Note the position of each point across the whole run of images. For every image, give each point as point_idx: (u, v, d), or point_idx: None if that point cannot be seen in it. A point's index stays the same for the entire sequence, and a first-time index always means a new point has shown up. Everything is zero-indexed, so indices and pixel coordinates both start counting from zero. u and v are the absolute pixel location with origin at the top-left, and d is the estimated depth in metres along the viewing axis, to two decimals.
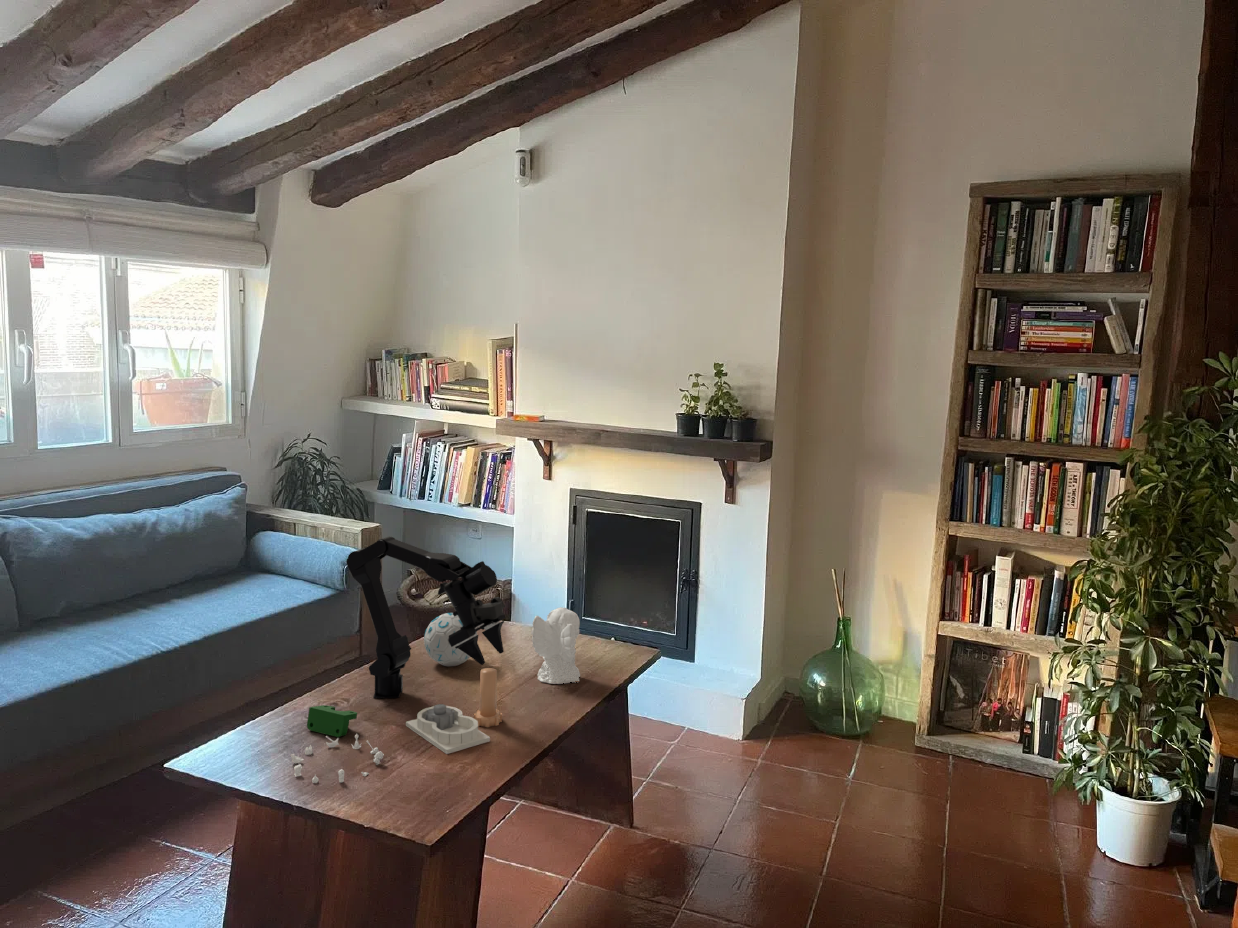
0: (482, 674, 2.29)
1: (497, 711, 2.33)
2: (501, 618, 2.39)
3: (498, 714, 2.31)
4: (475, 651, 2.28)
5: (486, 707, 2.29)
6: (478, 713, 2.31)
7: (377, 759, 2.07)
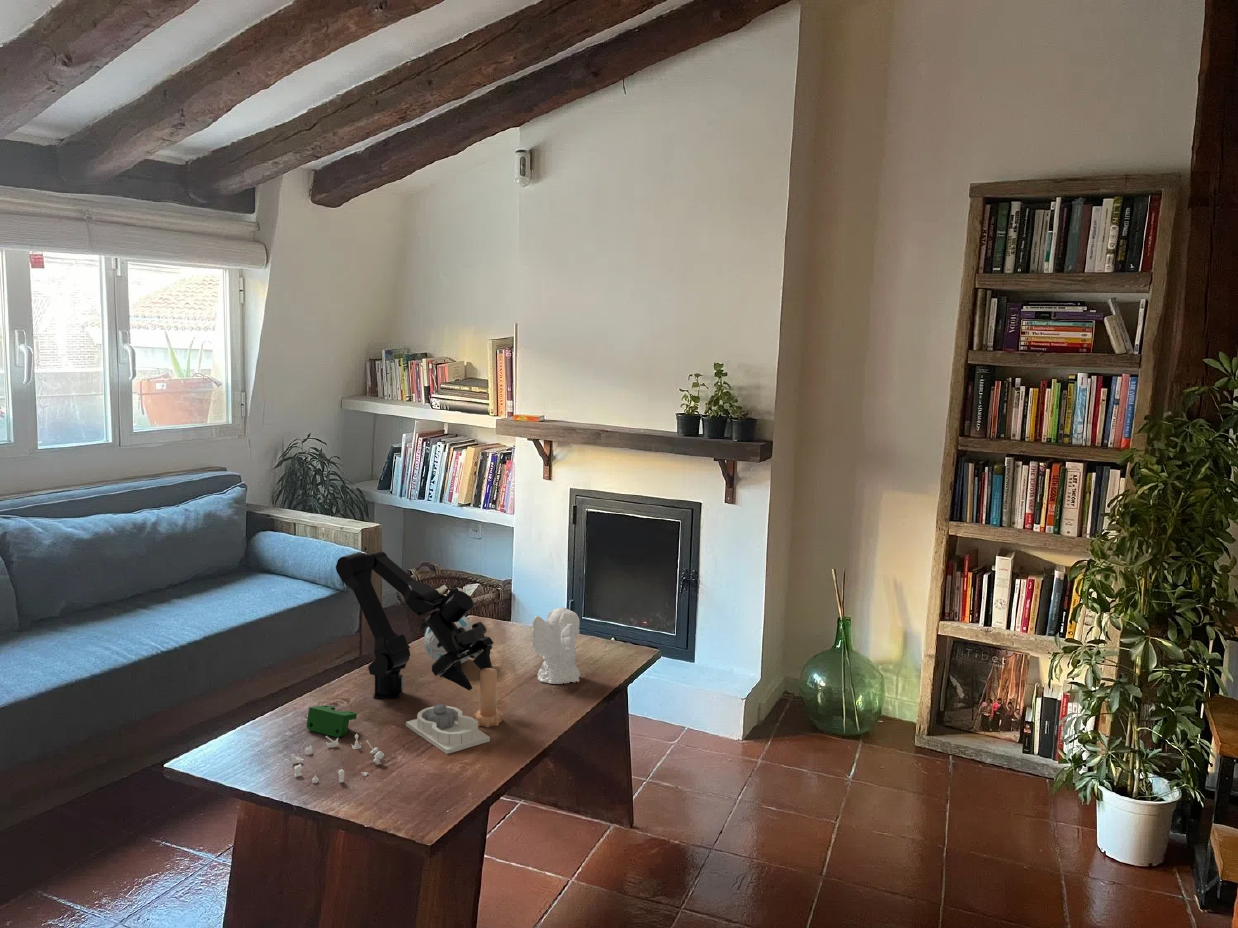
0: (482, 674, 2.29)
1: (497, 711, 2.33)
2: (488, 643, 2.38)
3: (498, 714, 2.31)
4: (460, 677, 2.27)
5: (486, 707, 2.29)
6: (478, 713, 2.31)
7: (377, 759, 2.07)
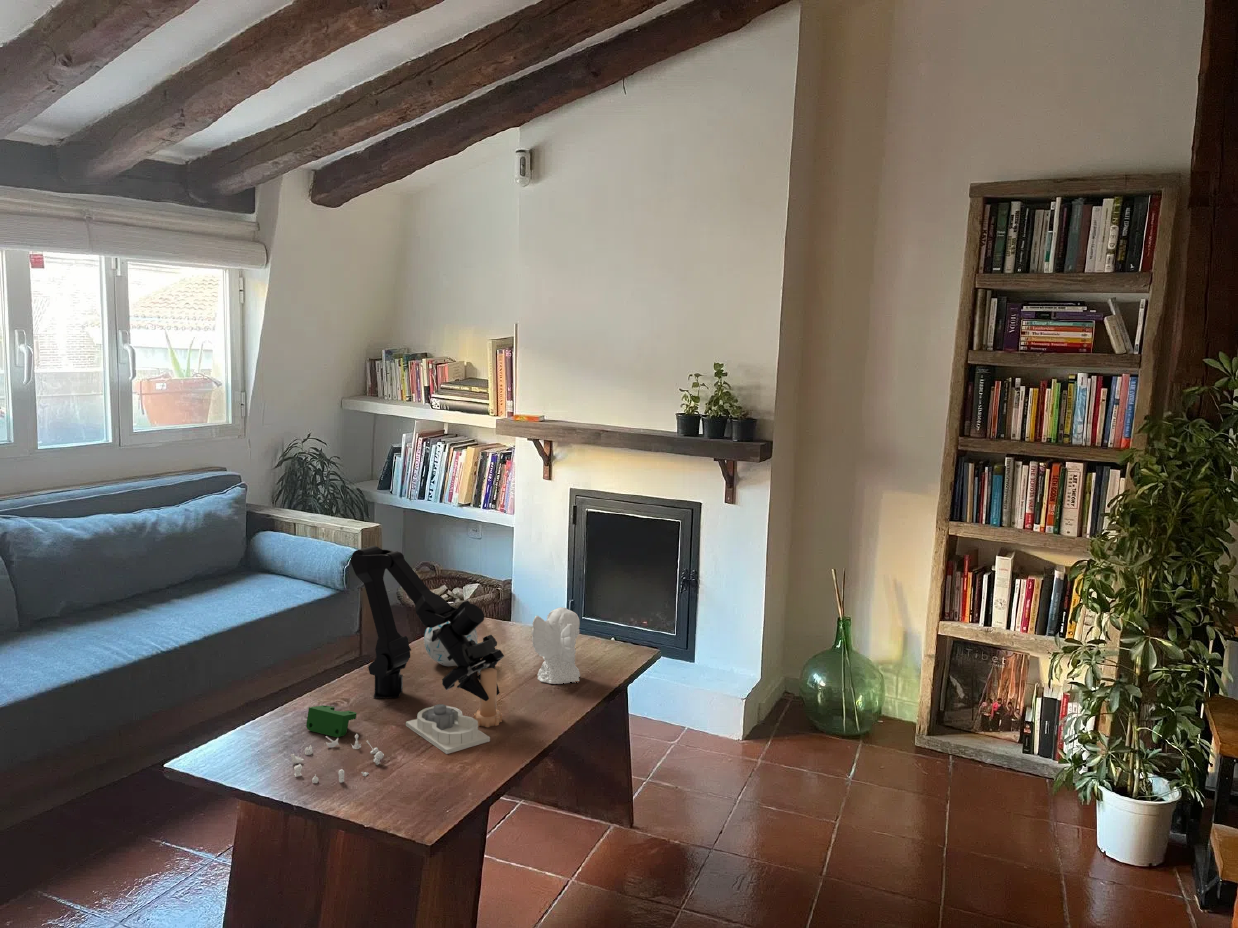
0: (482, 674, 2.29)
1: (497, 711, 2.33)
2: (499, 656, 2.37)
3: (498, 714, 2.31)
4: (477, 688, 2.28)
5: (486, 707, 2.29)
6: (478, 713, 2.31)
7: (377, 759, 2.07)
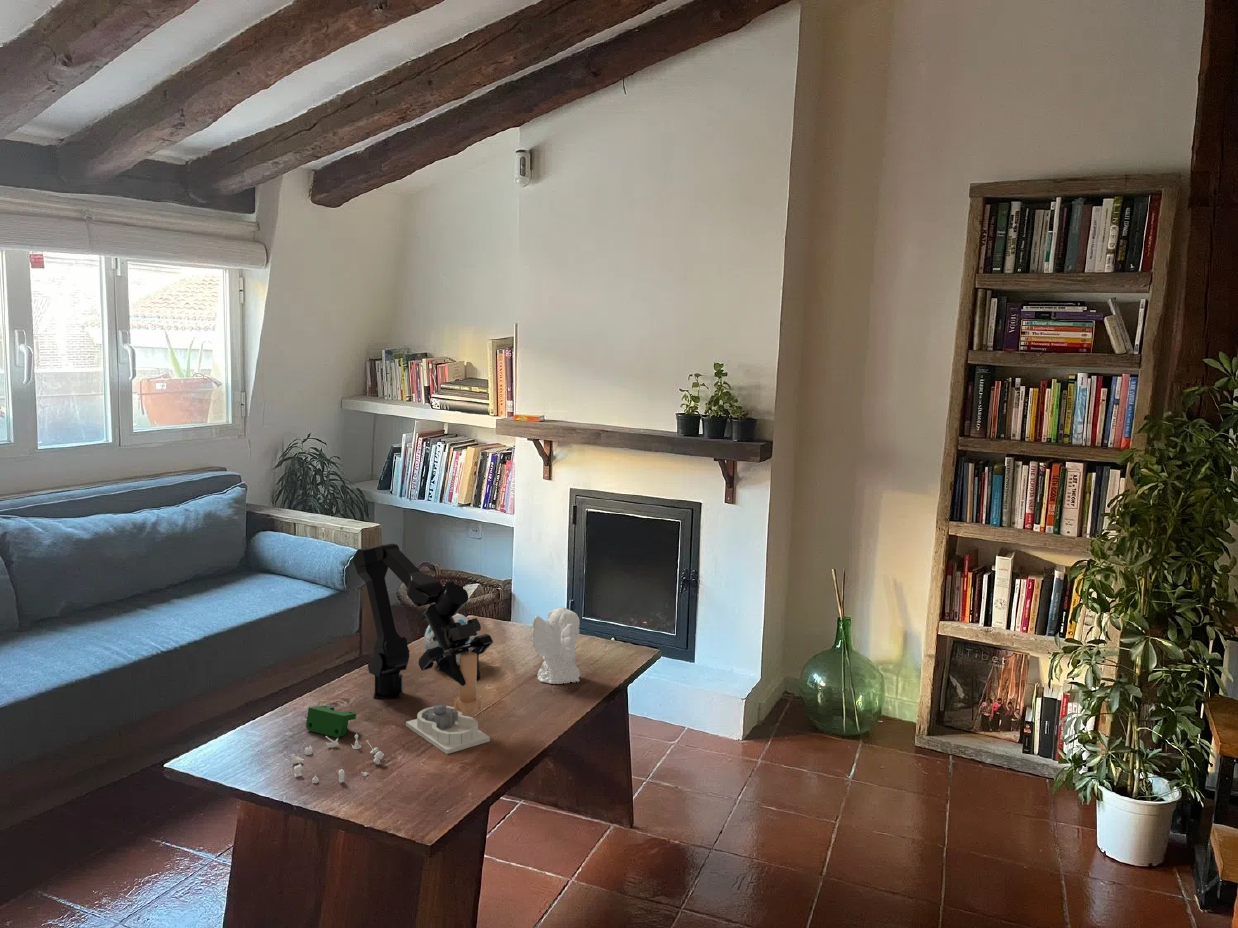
0: (460, 658, 2.21)
1: (478, 698, 2.24)
2: (486, 641, 2.28)
3: (477, 701, 2.23)
4: (454, 671, 2.20)
5: (464, 692, 2.21)
6: (458, 698, 2.24)
7: (377, 759, 2.07)
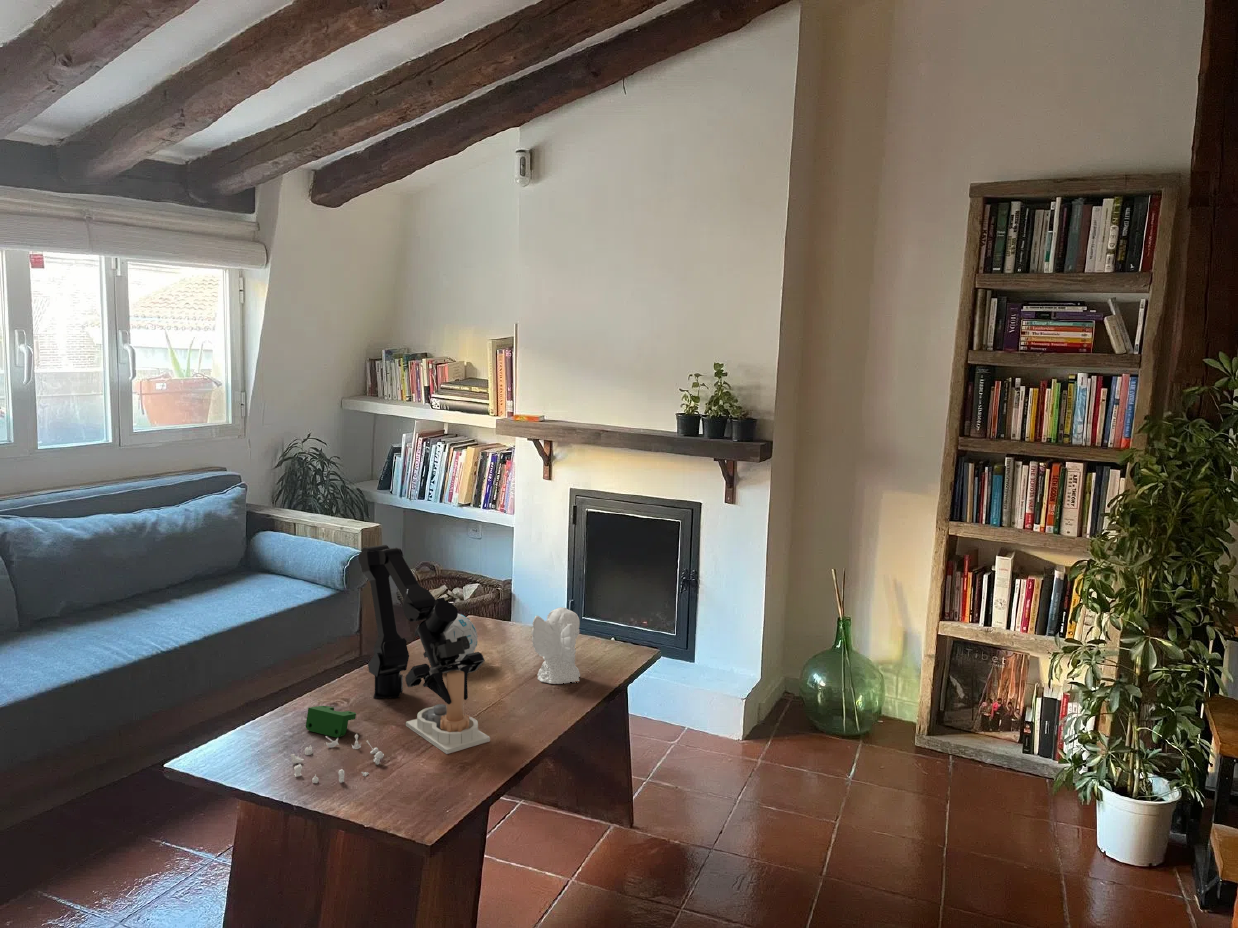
0: (447, 676, 2.19)
1: (466, 717, 2.22)
2: (476, 660, 2.25)
3: (464, 720, 2.20)
4: (440, 689, 2.18)
5: (450, 711, 2.19)
6: (446, 716, 2.22)
7: (377, 759, 2.07)
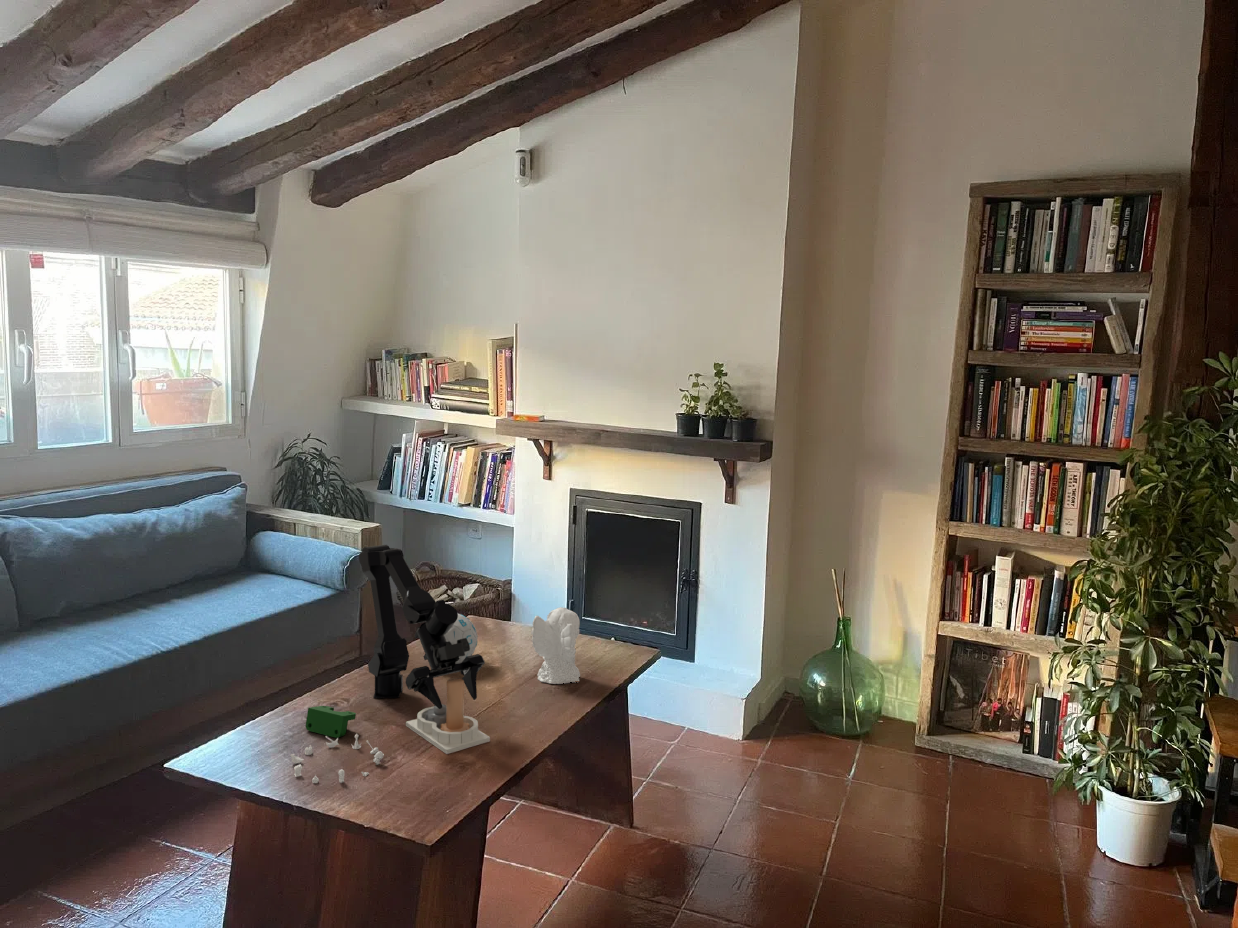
0: (447, 684, 2.19)
1: (466, 725, 2.22)
2: (476, 662, 2.25)
3: (464, 728, 2.20)
4: (431, 694, 2.17)
5: (449, 719, 2.19)
6: (446, 724, 2.22)
7: (377, 759, 2.07)
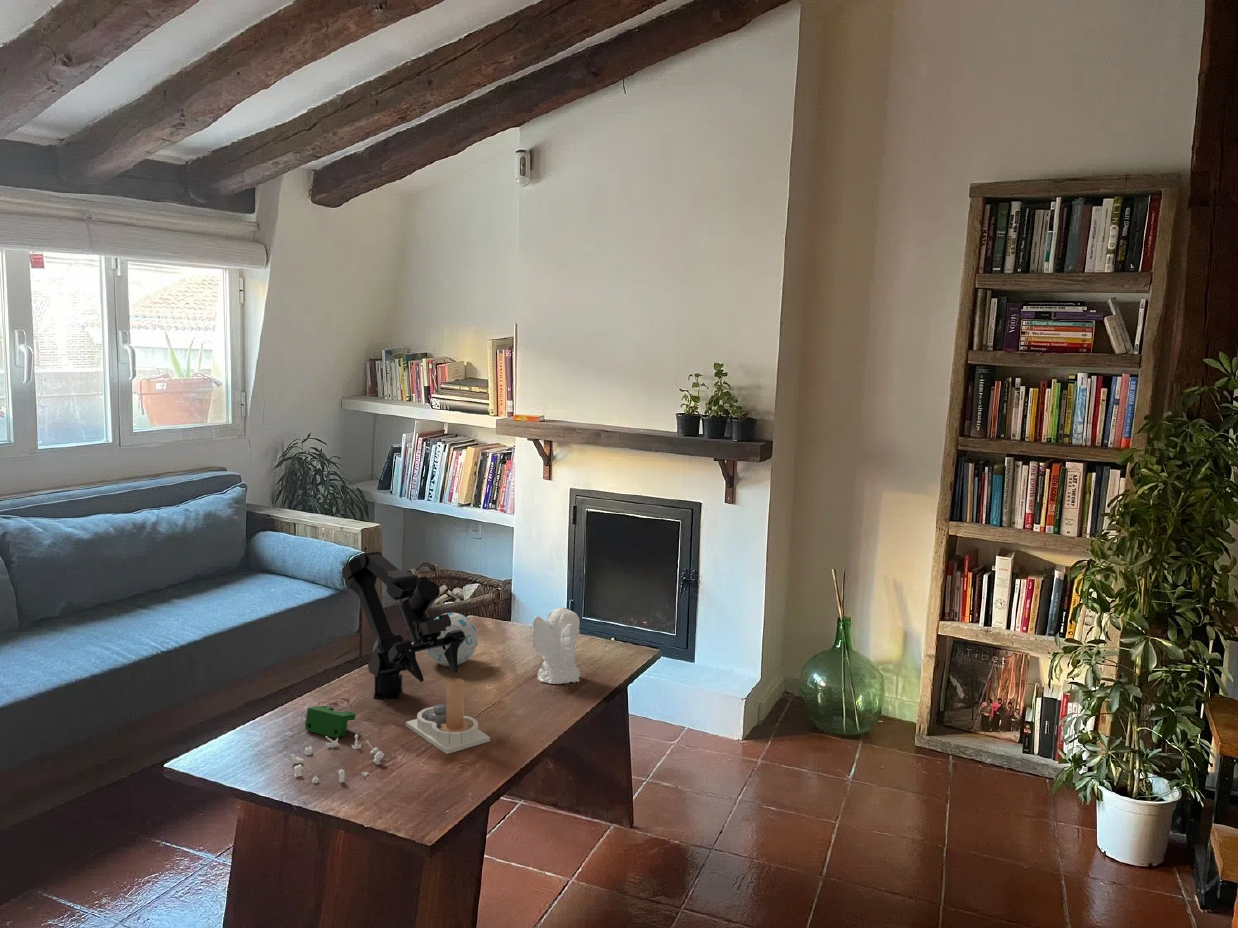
0: (447, 684, 2.19)
1: (466, 725, 2.22)
2: (457, 637, 2.31)
3: (464, 728, 2.20)
4: (413, 667, 2.23)
5: (449, 719, 2.19)
6: (446, 724, 2.22)
7: (377, 759, 2.07)
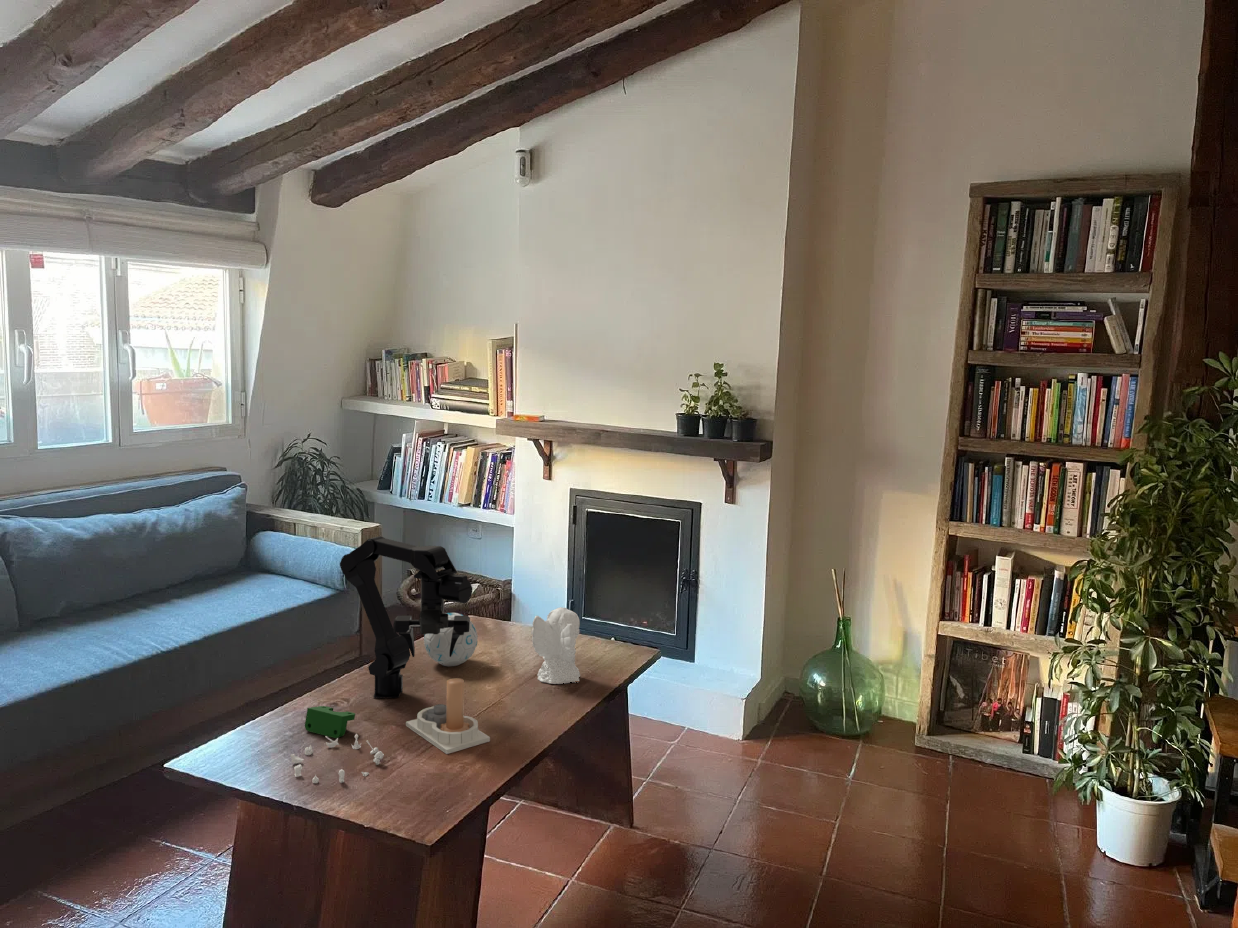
0: (447, 684, 2.19)
1: (466, 725, 2.22)
2: (459, 631, 2.35)
3: (464, 728, 2.20)
4: None
5: (449, 719, 2.19)
6: (446, 724, 2.22)
7: (377, 759, 2.07)
